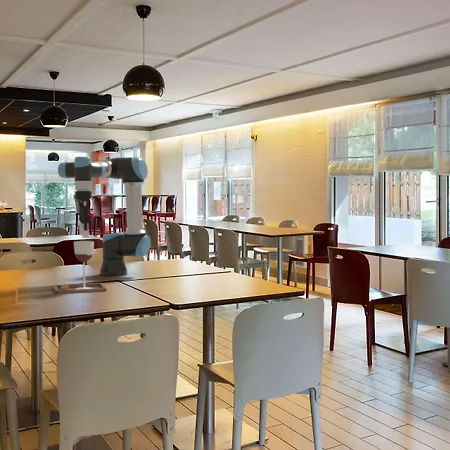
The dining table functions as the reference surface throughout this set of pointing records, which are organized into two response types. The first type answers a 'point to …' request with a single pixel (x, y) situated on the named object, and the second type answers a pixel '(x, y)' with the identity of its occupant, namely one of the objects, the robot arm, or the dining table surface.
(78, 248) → the wineglass
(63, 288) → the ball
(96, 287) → the tray
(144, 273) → the dining table surface
